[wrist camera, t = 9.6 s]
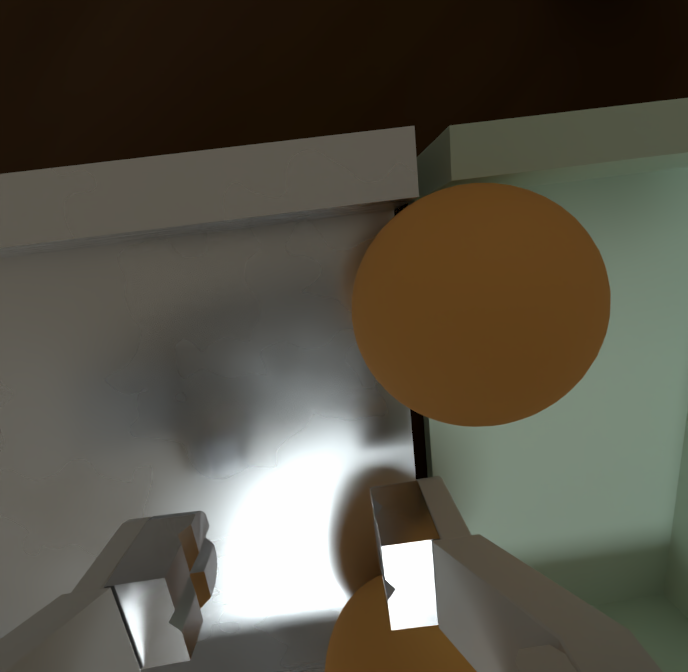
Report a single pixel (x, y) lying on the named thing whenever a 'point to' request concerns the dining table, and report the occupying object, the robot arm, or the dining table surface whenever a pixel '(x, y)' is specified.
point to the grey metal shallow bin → (201, 379)
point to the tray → (593, 372)
